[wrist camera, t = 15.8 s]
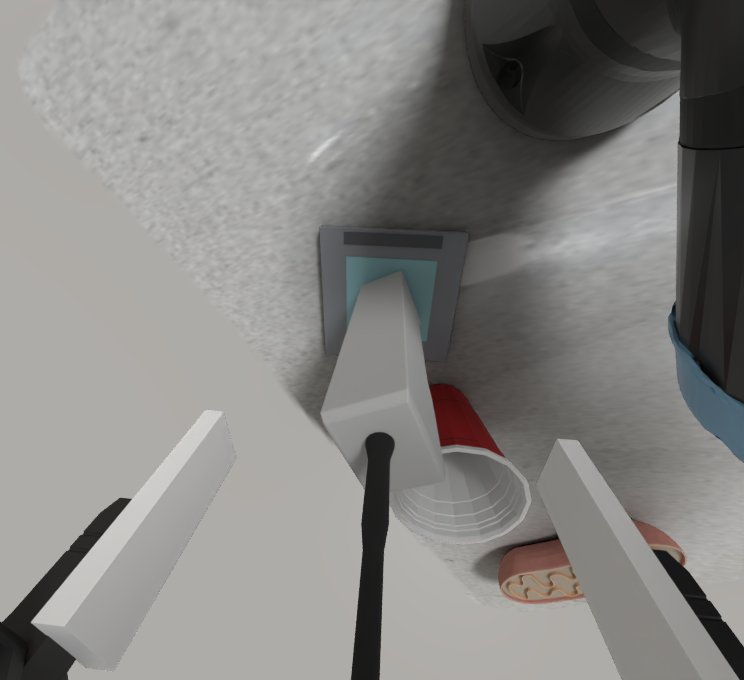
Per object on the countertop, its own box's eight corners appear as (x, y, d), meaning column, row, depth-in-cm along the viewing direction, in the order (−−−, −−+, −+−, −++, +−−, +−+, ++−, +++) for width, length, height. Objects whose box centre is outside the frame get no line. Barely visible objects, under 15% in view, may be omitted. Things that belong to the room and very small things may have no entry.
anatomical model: (646, 496, 39) (677, 537, 34) (664, 535, 42) (696, 576, 38) (480, 543, 46) (489, 581, 42) (508, 573, 50) (519, 611, 45)
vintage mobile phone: (382, 331, 28) (333, 857, 6) (361, 284, 26) (184, 822, 4) (420, 319, 27) (513, 880, 6) (401, 268, 25) (433, 848, 3)
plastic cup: (467, 345, 30) (506, 437, 19) (503, 419, 34) (550, 527, 24) (372, 385, 33) (362, 482, 23) (416, 448, 37) (423, 555, 27)
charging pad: (322, 225, 25) (319, 227, 24) (466, 232, 25) (469, 234, 24) (327, 347, 31) (325, 354, 30) (444, 355, 31) (446, 362, 29)
